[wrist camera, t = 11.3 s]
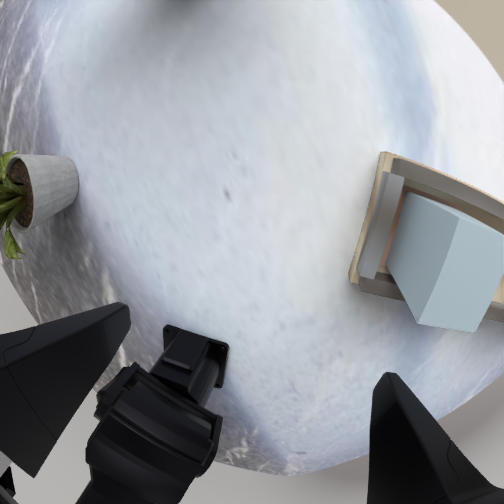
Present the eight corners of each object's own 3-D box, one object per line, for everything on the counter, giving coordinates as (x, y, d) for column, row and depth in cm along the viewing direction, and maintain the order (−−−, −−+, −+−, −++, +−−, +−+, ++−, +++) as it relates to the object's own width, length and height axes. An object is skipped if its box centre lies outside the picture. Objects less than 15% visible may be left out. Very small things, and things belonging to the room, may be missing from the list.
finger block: (435, 275, 16) (478, 333, 10) (385, 263, 17) (417, 323, 10) (457, 209, 14) (518, 243, 8) (406, 190, 15) (459, 217, 8)
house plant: (149, 162, 19) (-59, 220, 4) (94, 277, 25) (-21, 367, 10) (62, 92, 18) (-76, 101, 3) (27, 198, 24) (-78, 244, 9)
